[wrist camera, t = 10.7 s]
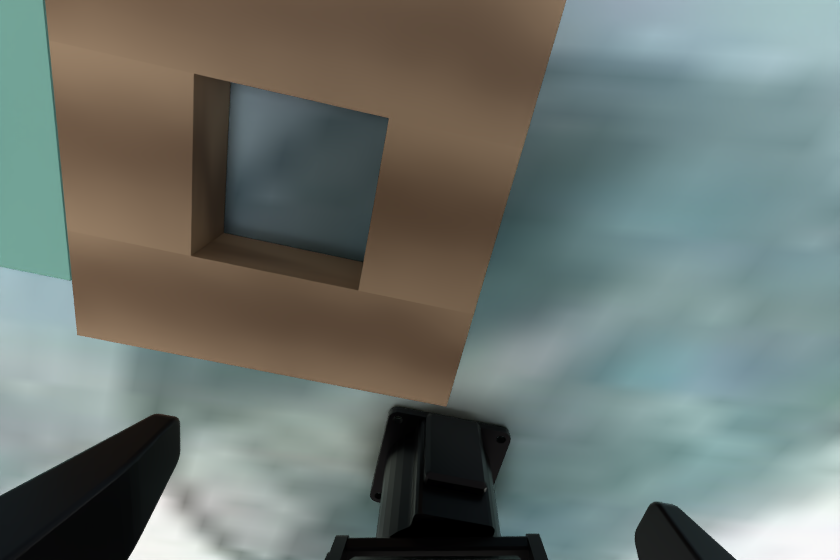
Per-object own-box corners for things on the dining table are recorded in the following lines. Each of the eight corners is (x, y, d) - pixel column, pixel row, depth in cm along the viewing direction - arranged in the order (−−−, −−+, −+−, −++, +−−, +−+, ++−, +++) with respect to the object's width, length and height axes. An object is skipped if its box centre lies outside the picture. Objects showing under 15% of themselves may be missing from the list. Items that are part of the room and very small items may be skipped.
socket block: (445, 367, 23) (446, 406, 20) (121, 303, 22) (77, 334, 19) (546, 8, 17) (568, -7, 14) (101, -102, 16) (31, -141, 13)
